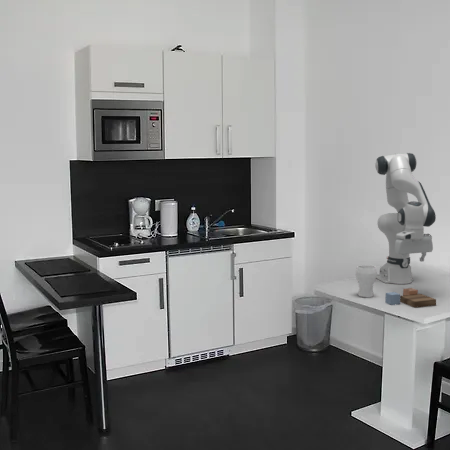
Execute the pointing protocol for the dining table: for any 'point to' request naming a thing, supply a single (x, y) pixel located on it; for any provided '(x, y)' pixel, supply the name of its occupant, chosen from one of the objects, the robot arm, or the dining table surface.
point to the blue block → (392, 298)
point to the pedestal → (418, 300)
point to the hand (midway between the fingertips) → (413, 262)
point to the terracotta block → (409, 291)
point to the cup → (366, 279)
